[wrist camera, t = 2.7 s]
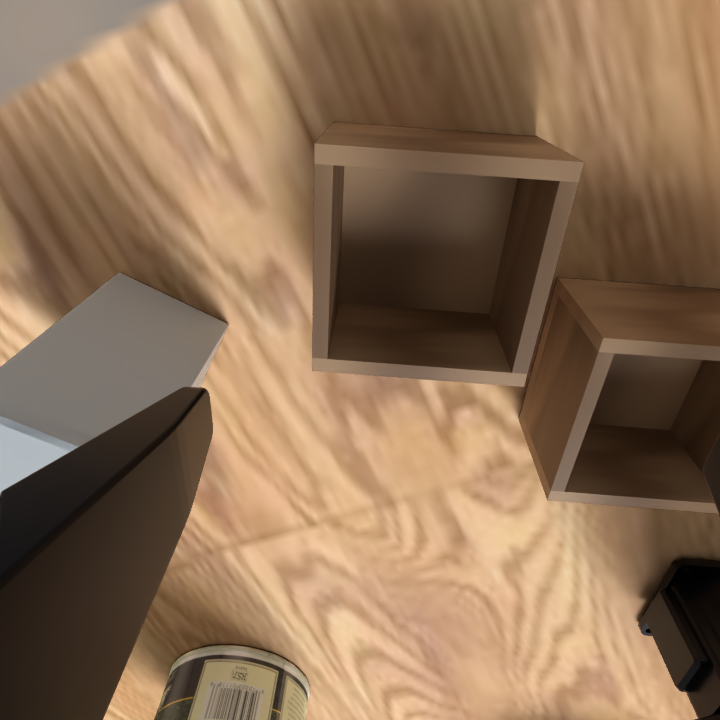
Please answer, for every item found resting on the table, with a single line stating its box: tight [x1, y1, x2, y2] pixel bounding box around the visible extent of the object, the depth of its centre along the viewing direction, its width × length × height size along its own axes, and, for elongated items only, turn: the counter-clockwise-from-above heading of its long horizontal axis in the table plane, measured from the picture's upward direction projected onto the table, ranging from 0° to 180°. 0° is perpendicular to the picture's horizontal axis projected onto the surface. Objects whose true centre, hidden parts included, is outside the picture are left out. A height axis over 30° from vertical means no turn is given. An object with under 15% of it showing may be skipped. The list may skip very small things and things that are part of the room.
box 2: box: [519, 278, 720, 514], centre depth 20 cm, size 7×7×5 cm
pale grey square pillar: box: [0, 272, 229, 495], centre depth 19 cm, size 5×5×9 cm
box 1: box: [312, 122, 584, 387], centre depth 17 cm, size 7×7×5 cm
